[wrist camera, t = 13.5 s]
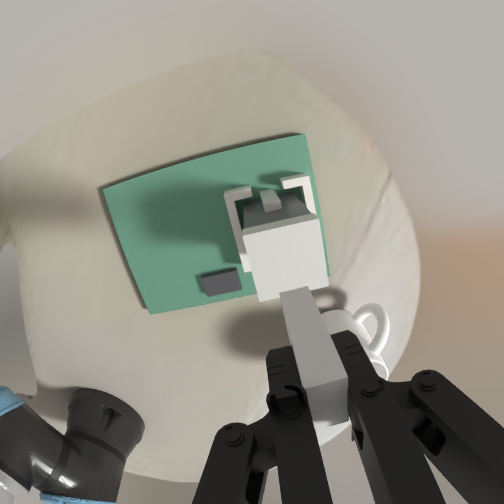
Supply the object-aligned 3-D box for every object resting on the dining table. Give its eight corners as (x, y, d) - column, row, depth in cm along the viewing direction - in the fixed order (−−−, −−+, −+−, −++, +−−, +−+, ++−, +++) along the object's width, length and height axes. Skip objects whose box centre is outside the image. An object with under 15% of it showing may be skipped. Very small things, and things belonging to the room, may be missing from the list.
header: (244, 264, 32) (244, 272, 30) (224, 190, 29) (223, 195, 27) (317, 247, 32) (322, 254, 30) (304, 172, 29) (309, 175, 27)
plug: (253, 248, 32) (259, 302, 21) (240, 195, 30) (239, 227, 19) (301, 237, 31) (328, 286, 21) (291, 184, 29) (317, 209, 19)
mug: (345, 273, 35) (377, 321, 25) (388, 300, 36) (424, 346, 27) (289, 343, 38) (301, 401, 29) (335, 362, 40) (354, 415, 30)
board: (152, 309, 36) (146, 322, 33) (107, 187, 30) (95, 192, 27) (327, 271, 34) (334, 283, 32) (302, 134, 29) (309, 133, 26)
